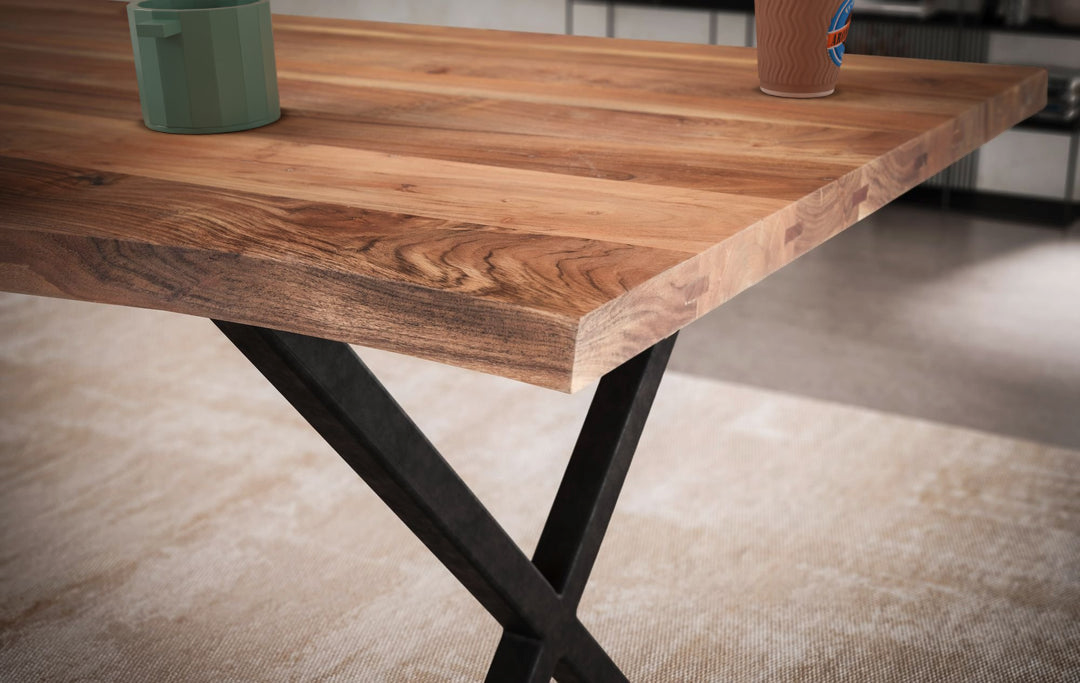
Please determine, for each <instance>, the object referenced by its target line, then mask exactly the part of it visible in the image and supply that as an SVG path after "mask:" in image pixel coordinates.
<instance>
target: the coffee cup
mask: <svg viewBox="0 0 1080 683" xmlns="http://www.w3.org/2000/svg"><path fill="white" fill-rule="evenodd" d="M854 4H855V0H754V16H755V17H754V18H755V19H754V20H755V38H756V53H757V54H756V56H757V76H758V79H759V86H760V90H761V91H762V93H765V94H766V95H771V96H776V97H782V98H792V99H793V98H796V99H808V98H810V99H811V98H820V97H826V96H829V95H832V93H834V92H835V88H836V85H837V82H838V80H839V77H840V76H839V75H840V71H841V66H842V63H843V57H844V53H845V48H846V43H847V39H848V34H849V29H850V24H851V19H852V16H853V7H854V6H855V5H854Z"/></svg>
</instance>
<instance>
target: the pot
mask: <svg viewBox="0 0 1080 683" xmlns="http://www.w3.org/2000/svg"><path fill="white" fill-rule="evenodd" d="M126 12H127V21H128V26H129V33H130V39H131V46H132V53H133V60H134V67H135V74H136V81H137V88H138V94H139V102H140V109H141V115H142V116H141V117H142V120H143V121H144V125H145V126H146V127H147V128H148V129H150V130H153V131H157V132H161V133H168V134H180V135H206V134H207V135H208V134H221V133H232V132H233V133H234V132H239V131H247V130H250V129H255V128H256V129H257V128H261V127H263V126H266V125H269V124H272V123H275V122H276V121H278V120H279V119H280V118H281V116H282V114H281V97H280V88H279V78H278V69H277V68H278V67H277V58H276V47H275V37H274V27H273V26H274V25H273V16H272V6H271V0H135V1H130V2H129V3H128V4H126Z"/></svg>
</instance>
